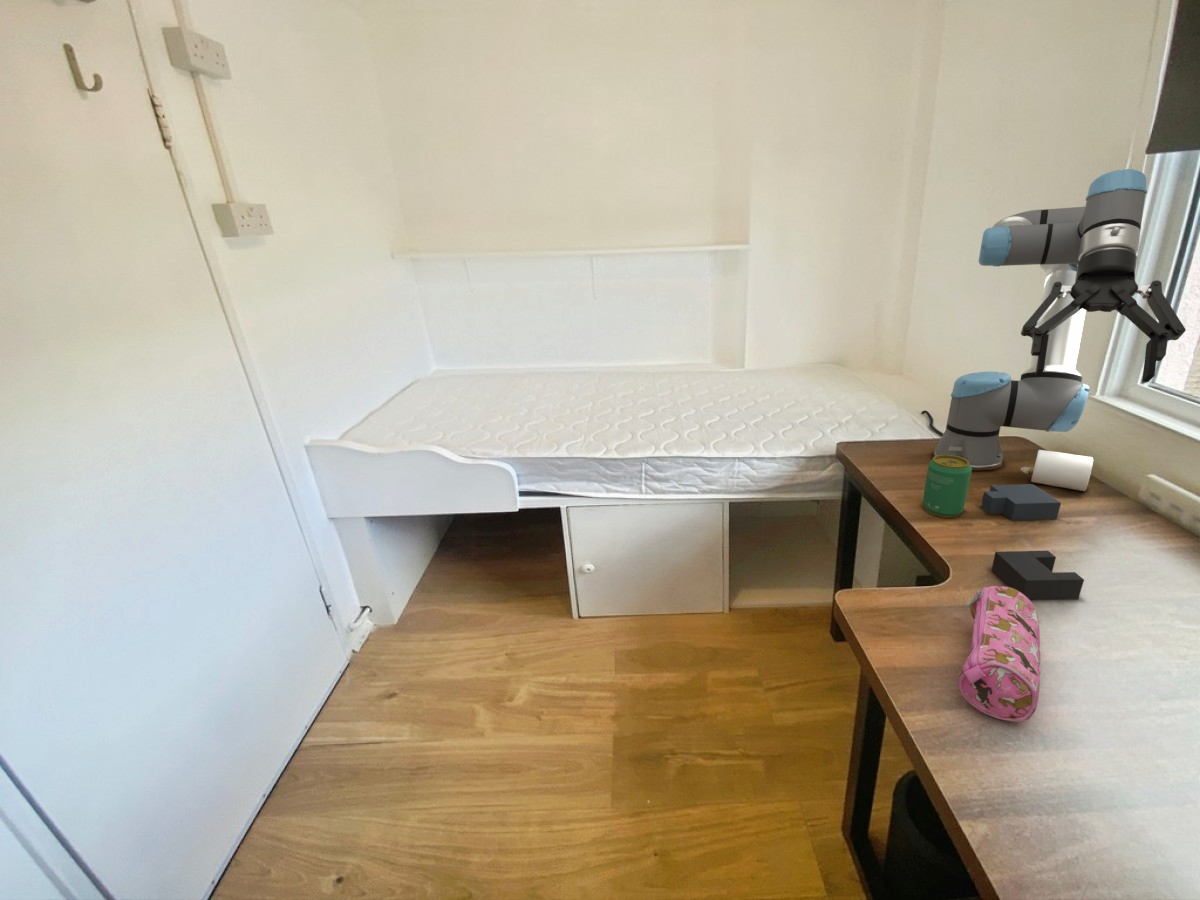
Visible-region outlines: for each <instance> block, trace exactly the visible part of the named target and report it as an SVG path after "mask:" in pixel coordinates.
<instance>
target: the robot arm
mask: <svg viewBox="0 0 1200 900" xmlns="http://www.w3.org/2000/svg"><path fill="white" fill-rule="evenodd" d="M1147 193H1148V189H1147V177H1146V175H1145V174H1144V172H1142V171H1141V170H1138V169H1134V168H1125V169H1116V170H1111V171H1109V172H1106V173H1103V174H1101V175H1100V176H1098V177H1096V179H1094V180H1093V181H1092V182H1091V183H1090V185H1089V187H1088V191H1087V196H1086V197H1085V206H1076V207H1075V206H1074V207H1062V208H1060V207H1059V208H1046V209H1034V210H1033V209H1032V210H1026V211H1022V212H1018V213H1015V214H1011V215H1009V216H1006V217H1004V218H1002V219H1000V220H999V221H997V222H995V224H994V225H993V226H992V227H987V228H986V229H985V230H984V231H983V233H982V239H981V243H980V250H979V256H978V263H979V265H980V266H982V267H983V266H984V267H985V266H986V267H1004V266H1029V265H1040V266H1039V267H1040V269H1042V270H1043V271H1044V272H1045V273H1046V275H1045V276H1046V277H1045V280H1044V287H1043V292H1042V298H1041V303H1040V305H1039V306H1038V308H1037V309H1036V310H1035V311H1034V313H1032V315H1031V316H1030V317H1029V318H1028V320H1027V321H1026V322H1025V323H1024V325H1023V326H1022V328H1021V331H1020V335H1021V336H1022V337H1030V338H1031V340H1032V342H1031V348H1030V354H1031V361H1030V366H1029V368H1028V369H1026V370H1024V371H1023V372H1022V373H1021V374H1020V380H1015V379H1013V380H1012V376H1011V375H1010V374H1009V373H1007V372H1003V371H1002V372H1000V371H979V372H970V373H966V374H963V375H961V376H959V377H958V378H956V380H955V381H954V382H953V383H954V384H953V388H952V391H951V393H950V397H951V399H950V403H949V410H948V416H947V420H946V425H945V426H946V427H945V430H944V432H942V431H940V430H939V429H937V428H936V427H935V426H934V418H933V417H932V415H931V413H930V412H929V411H928V410H926V409H924V410H922V411H921V413H920V414H922V415H924V414H925V415H927V417H928V418H929V427H930V428H931V430H932V431H934V432H935V433H936V434H937V435H940V436H941V437H940V439H939V441H938V443H937V444H936V445H935V448H934V451H933V457H935V456H937V455H953V456H958V457H962V458H964V459H966V460H968V461H969V465H970V466H971V468H972V472H973V471H975V472H985V471H986V472H987V471H992V470H997V469H999V468H1000V467H1001V466H1002V464H1003V457H1004V456H1003V450H1002V445H1001V441H1000V431H1001V427H1005V428H1014V429H1015V428H1016V429H1026V430H1035V431H1045V432H1047V433H1049V432H1060V433H1067V432H1071V430H1073V429H1074V428H1075V427H1076V425H1077V424H1078V422H1079V421H1080V418H1081V417H1082V415H1083V412H1084V410H1085V407H1086V404H1087V401H1088V398H1089V393H1090V386H1089V385H1088V384H1086V383H1083V375H1082V373H1080V372H1079V371H1078V370H1077V369H1076V368H1077V362H1078V356H1079V351H1080V344H1081V339H1082V333H1083V328H1084V322H1085V317H1086V313H1094V312H1103V313H1112V311H1117V312H1118V313H1119V314H1120V315H1121V316H1124V317H1126V319H1128V320H1129V321H1130V322H1131V323H1132V324H1134V326H1135V327H1137V328H1138V329H1139V330H1140V331H1141V332H1142V333H1144V335H1146V337H1148V339H1149V340H1148V341H1147V343H1146V346H1145V354H1144V361H1143V371H1142V380H1141V382H1142V383H1149V382H1150V381H1151V380H1152V379H1153V378H1154V377H1155V376H1156V367H1157V362H1161V361H1162V360H1163V359H1164V358H1165V357H1166V355H1167V347H1168V342H1169V341H1178V340H1179V339H1180V338H1181V337H1182V336H1183V334H1184V333H1186V331H1187V329H1186V328H1185V326H1184V324H1183V323H1182V321H1181V319H1180V318H1179V317H1178V315H1177V313H1176V311H1175V310H1174V309H1173V307H1172V305H1171V304H1170V302H1169V300H1168V299H1167V298H1166V296H1165V294H1164V293H1163V285H1162V282H1161V280H1157V279H1156V280H1153V281H1151V283H1147V284H1137V281H1136V273H1137V266H1138V254H1139V248H1140V239H1141V238H1140V237H1141V231H1142V224H1143V223H1142V222H1143V214H1144V207H1145V201H1146V195H1147ZM1136 294H1139V295H1140V296H1141V298H1142V299H1144V300H1146V302H1147V305H1148V306H1149V308H1150V310H1151V311H1152V313H1153V314H1154V316H1155V318H1156V319H1157V320H1156V319H1155V318H1154V317H1153V316H1151V314H1150V313H1148V312H1147V310H1145V309H1144V308H1143V307H1142V306H1140V305H1139V304H1138V301H1137V299H1136V298H1134V296H1135V295H1136Z"/></svg>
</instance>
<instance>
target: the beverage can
mask: <svg viewBox="0 0 1200 900" xmlns="http://www.w3.org/2000/svg"><path fill="white" fill-rule="evenodd" d="M927 466H928V467H927V473H926V478H925V485H924V491H923V496H922V497H923V498H922V506H923V509H924V510H925V511H926V512H927V513H929V514H931V515H933V516H937V517H940V518H957V517H959V516H960V515H961V514H962V513H963V512H964V510H965V507H966V502H967V496H968V491H969V485H970V480H971V475H972V472H973V470H972V468H971V466H970V465H969V461H968V460H966V459H964V458H962V457H958V456H953V455H937V456H935V457H934V456H933V457H932V458H931V460H930V461H929V462H928V465H927Z"/></svg>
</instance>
